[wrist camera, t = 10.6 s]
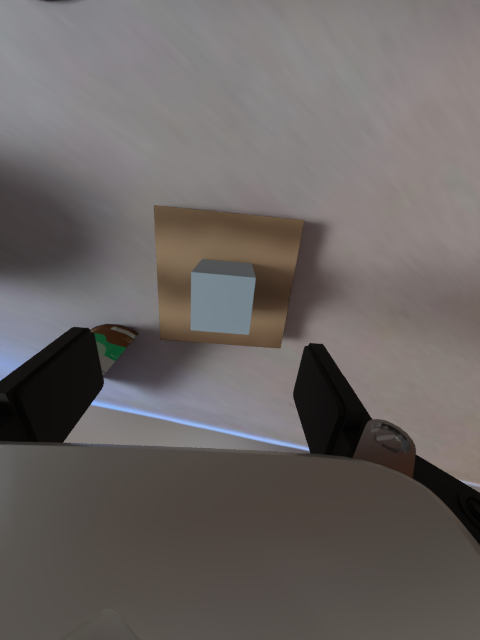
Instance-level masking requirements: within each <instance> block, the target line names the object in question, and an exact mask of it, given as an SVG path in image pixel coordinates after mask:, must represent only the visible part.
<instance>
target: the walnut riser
mask: <svg viewBox="0 0 480 640" xmlns="http://www.w3.org/2000/svg"><path fill="white" fill-rule="evenodd" d="M154 219H155V238H156V258H157V278H158V298H159V318H160V338H161V339H162V340H175V341H189V342H202V343H215V344H228V345H242V346H255V347H268V348H281V343H282V337H283V332H284V327H285V321H286V316H287V310H288V305H289V300H290V294H291V289H292V283H293V278H294V273H295V267H296V262H297V257H298V251H299V246H300V240H301V235H302V230H303V224H304V220H297V219H287V218H277V217H267V216H257V215H247V214H237V213H227V212H217V211H207V210H197V209H187V208H177V207H167V206H157V205H154ZM202 259H209V260H220V261H230V262H241V263H252V266H253V270H254V273H255V277H256V281H255V289H254V297H253V305H252V314H251V322H250V330H249V335H245V334H232V333H219V332H207V331H194V330H191V272H192V270H193V269H194V268H195V267H196V266H197V264H198V263H199V262H200V261H201V260H202Z"/></svg>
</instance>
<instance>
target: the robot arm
mask: <svg viewBox="0 0 480 640" xmlns="http://www.w3.org/2000/svg"><path fill="white" fill-rule="evenodd" d="M103 384H104V379H103V374H102V369H101V364H100V359H99V354H98V349H97V344H96V338H95V334H94V332H91V330H90V329H89V328H80V327H72V328H71V329H69V330H68V331H67V332H65V333H64V334H63V335H61V336H60V337H59V338H57V339H56V340H55V341H53V342H52V343H51V344H49V345H48V346H47V347H45V348H44V349H43V350H41V351H40V352H39V353H37V354H36V355H35V356H33V357H32V358H31V359H29V360H28V361H26V362H25V363H24V364H22V365H21V366H20V367H18V368H17V369H16V370H14V371H13V372H12V373H10V374H9V375H8V376H6V377H5V378H4V379H2V380H1V381H0V640H480V493H479V492H477V491H476V490H474V489H472V488H471V487H469V486H468V485H466V484H464V483H463V482H461V481H459V480H458V479H456V478H454V477H453V476H451V475H449V474H448V473H446V472H444V471H443V470H441V469H439V468H438V467H436V466H434V465H433V464H431V463H429V462H428V461H426V460H424V459H422V458H421V457H419V456H417V455H416V448H415V444H414V442H413V440H412V439H411V438H410V437H409V435H408V434H407V433H406V432H404V431H403V430H402V429H401V428H399V427H398V426H396V425H394V424H393V423H390V422H388V421H385V420H380V419H373V420H372V418H371V417H370V415H369V414H368V412H367V411H366V409H365V408H364V406H363V404H362V403H361V401H360V400H359V398H358V397H357V395H356V394H355V392H354V391H353V389H352V387H351V386H350V384H349V383H348V381H347V380H346V378H345V377H344V376H343V374H342V373H341V371H340V370H339V368H338V366H337V365H336V363H335V362H334V360H333V359H332V357H331V356H330V354H329V353H328V351H327V349H326V348H325V346H324V345H323V344H314V343H310V344H309V345H308V346H305V347H304V351H303V355H302V359H301V363H300V367H299V371H298V375H297V379H296V383H295V387H294V392H293V397H294V401H295V405H296V408H297V411H298V414H299V418H300V421H301V424H302V427H303V431H304V434H305V437H306V440H307V443H308V447H309V450H310V453H311V454H310V453H294V452H278V451H257V450H235V449H213V448H190V447H163V446H140V445H137V446H136V445H113V444H82V443H81V444H80V443H63V442H64V440H65V439H66V438H67V436H68V435H69V433H70V432H71V431H72V429H73V428H74V427H75V425H76V424H77V422H78V421H79V420H80V418H81V417H82V415H83V414H84V413H85V411H86V410H87V409H88V407H89V406H90V404H91V403H92V402H93V400H94V399H95V398H96V396H97V395H98V393H99V392H100V391H101V389H102V387H103Z"/></svg>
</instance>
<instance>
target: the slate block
mask: <svg viewBox="0 0 480 640" xmlns="http://www.w3.org/2000/svg"><path fill="white" fill-rule="evenodd" d="M255 281H256V277H255V273H254V270H253V266H252V263H241V262H230V261H220V260H209V259H202V260H201V261H200V262H199V263H198V264H197V266H196V267H195V268H194V269H193V270H192V272H191V330H194V331H207V332H219V333H232V334H245V335H249V330H250V322H251V314H252V305H253V297H254V289H255Z"/></svg>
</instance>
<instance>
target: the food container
mask: <svg viewBox="0 0 480 640" xmlns="http://www.w3.org/2000/svg"><path fill="white" fill-rule="evenodd" d="M91 332H94V334H95V338H96V344H97V349H98V354H99V359H100V364H101V369H102V374H103V376H104V375H105V373H106V372H107V371H108V370H109V369H110V367H111V366H112V365H113V364H114V363H115V361H116V360H117V359H118V358H119V357H120V355H121V354H122V353H123V352H124V351H125V349H126V348H127V347H128V346H129V345H130V344H131V342H132V341H133V340H134V339H135V338H136V336H137V335H138V333H137V332H135V331H133V330H132V329H130V328H127V327H124V326H121V325H114V324H104V325H100V326H96V327H94V328H92V329H91Z"/></svg>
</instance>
